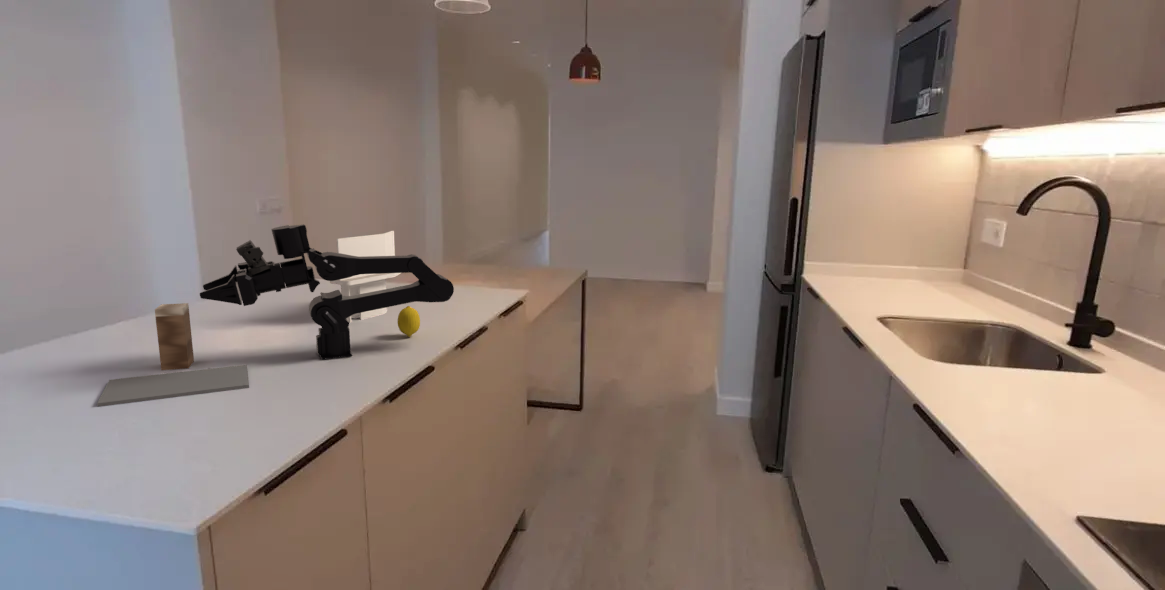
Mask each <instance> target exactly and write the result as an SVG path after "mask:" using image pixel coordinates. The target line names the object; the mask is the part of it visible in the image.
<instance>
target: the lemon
mask: <svg viewBox="0 0 1165 590" xmlns="http://www.w3.org/2000/svg"><path fill="white" fill-rule="evenodd" d="M397 326H398V330H399V331H400V332H401V333H402V334H404V335H406V336H407V337H408V338H410V337H412V336H413V335H414V334H416V333H417V332H418V331H419V329H420V327H421V319H420V314H419V312H418V311H417V309H415V308H413V307H411V306H410V305H408V306H406V307H403V308H402V309H401V310H400V311H399V313H398V316H397Z"/></svg>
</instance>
